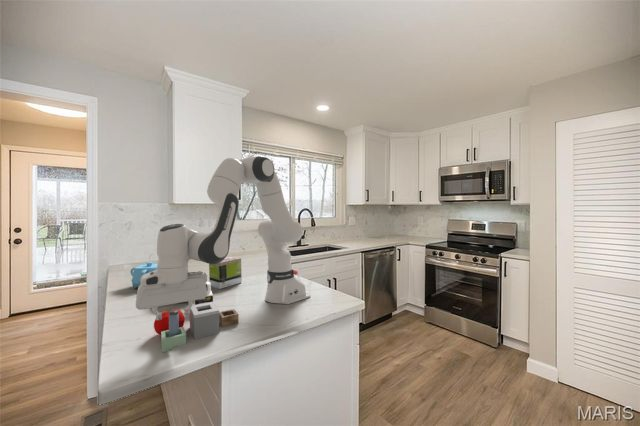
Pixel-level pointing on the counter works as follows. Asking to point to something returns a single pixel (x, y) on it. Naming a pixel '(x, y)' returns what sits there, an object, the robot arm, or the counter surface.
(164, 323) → the tomato
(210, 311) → the grey hollow block
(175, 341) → the rest socket
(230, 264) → the tea box
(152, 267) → the teapot
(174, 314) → the grey rod
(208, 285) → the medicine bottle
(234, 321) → the holder
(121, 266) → the counter surface
